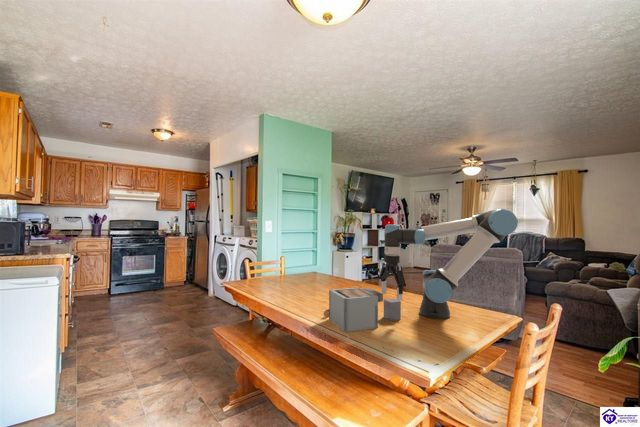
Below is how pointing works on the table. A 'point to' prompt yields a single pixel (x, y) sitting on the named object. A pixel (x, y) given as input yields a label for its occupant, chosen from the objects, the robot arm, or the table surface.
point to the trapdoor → (361, 293)
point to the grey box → (353, 311)
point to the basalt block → (392, 309)
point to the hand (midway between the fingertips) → (391, 297)
